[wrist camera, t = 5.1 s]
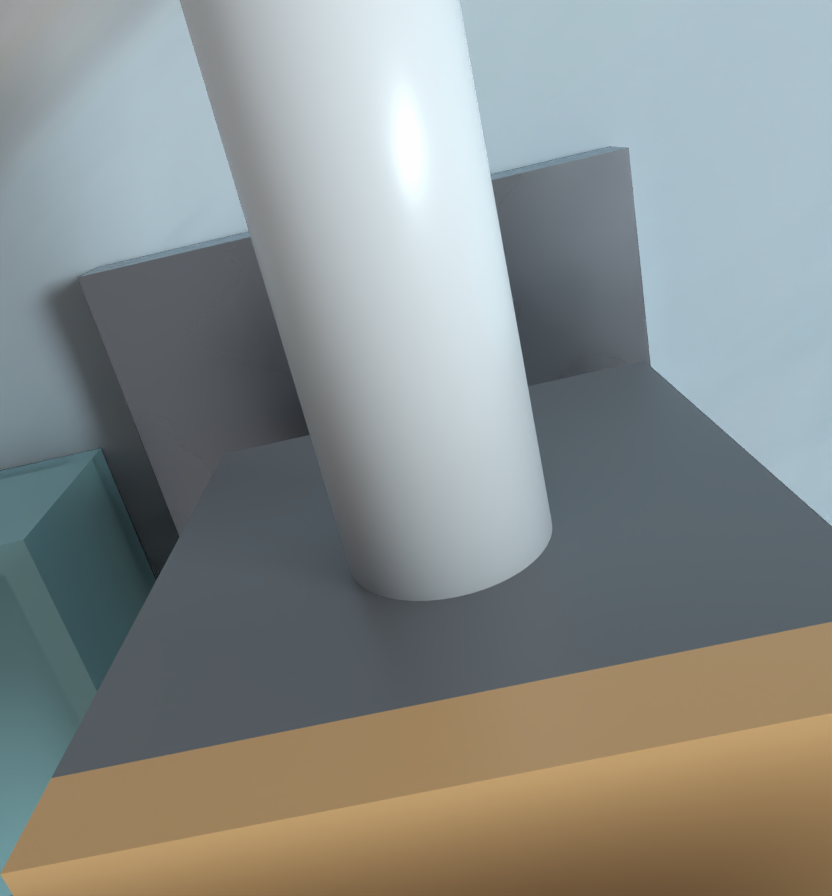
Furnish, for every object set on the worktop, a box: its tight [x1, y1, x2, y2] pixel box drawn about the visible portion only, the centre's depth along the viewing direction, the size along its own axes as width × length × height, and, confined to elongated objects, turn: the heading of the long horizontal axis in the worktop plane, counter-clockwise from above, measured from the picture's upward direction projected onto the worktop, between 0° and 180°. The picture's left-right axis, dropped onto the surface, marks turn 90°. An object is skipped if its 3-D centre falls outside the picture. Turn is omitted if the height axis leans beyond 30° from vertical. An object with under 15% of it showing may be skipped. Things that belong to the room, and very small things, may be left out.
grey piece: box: [78, 146, 651, 537], centre depth 12 cm, size 9×9×6 cm
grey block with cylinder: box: [0, 0, 832, 896], centre depth 7 cm, size 12×6×6 cm, turn 13°
